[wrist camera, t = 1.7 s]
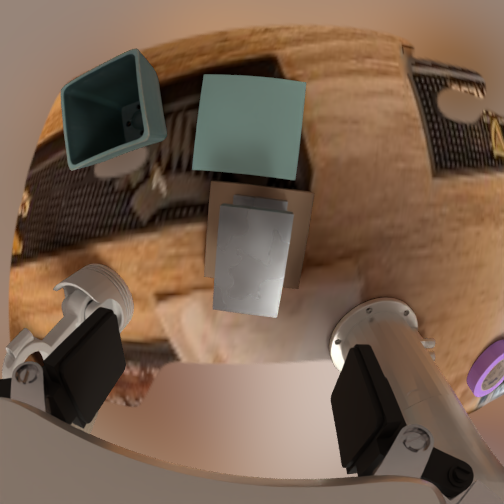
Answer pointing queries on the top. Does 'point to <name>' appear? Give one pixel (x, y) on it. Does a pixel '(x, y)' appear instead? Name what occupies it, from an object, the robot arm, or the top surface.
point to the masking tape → (487, 370)
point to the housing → (251, 255)
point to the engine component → (75, 312)
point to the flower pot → (112, 110)
